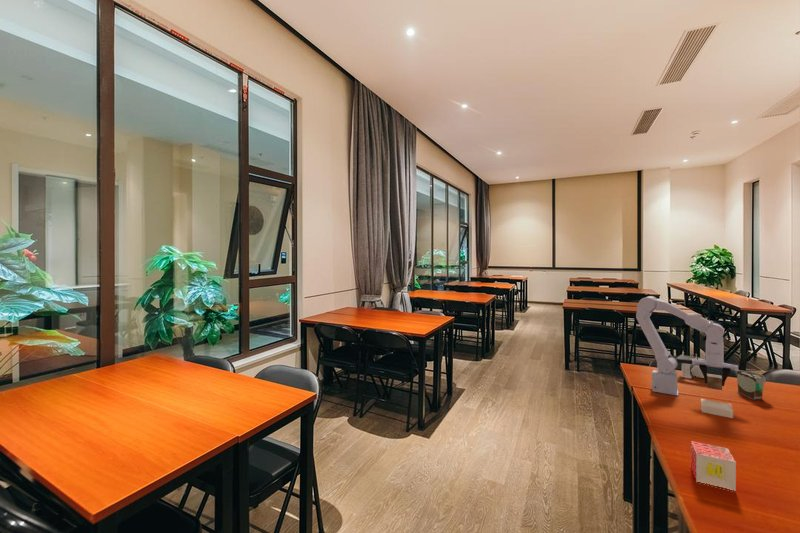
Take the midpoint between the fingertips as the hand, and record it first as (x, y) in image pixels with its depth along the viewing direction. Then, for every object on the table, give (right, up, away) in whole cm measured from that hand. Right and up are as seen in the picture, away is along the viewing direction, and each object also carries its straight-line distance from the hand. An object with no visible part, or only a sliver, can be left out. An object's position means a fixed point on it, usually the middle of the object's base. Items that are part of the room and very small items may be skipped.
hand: (714, 384), depth 149 cm
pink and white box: (-48, -9, -52) cm, 72 cm away
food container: (+22, -8, +5) cm, 24 cm away
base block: (-8, -8, -9) cm, 14 cm away
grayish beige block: (0, -2, 0) cm, 2 cm away
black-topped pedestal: (+17, -8, +30) cm, 35 cm away
